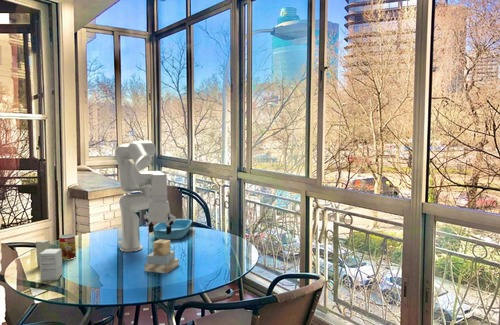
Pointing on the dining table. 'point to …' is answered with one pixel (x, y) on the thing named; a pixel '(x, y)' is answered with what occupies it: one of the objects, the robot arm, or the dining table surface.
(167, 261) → the slate block
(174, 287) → the dining table surface
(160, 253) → the block
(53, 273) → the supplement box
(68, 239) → the canned food
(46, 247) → the box
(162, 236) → the casserole dish
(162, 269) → the birch slab
